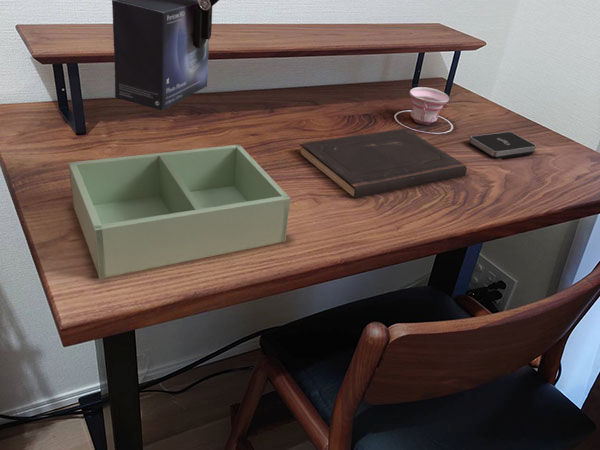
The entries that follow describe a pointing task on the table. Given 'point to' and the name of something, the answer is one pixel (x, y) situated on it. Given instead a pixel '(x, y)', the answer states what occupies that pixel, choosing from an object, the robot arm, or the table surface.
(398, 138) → the hardcover book
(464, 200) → the table surface
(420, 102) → the teacup
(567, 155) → the table surface
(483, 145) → the external hard drive
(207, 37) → the robot arm
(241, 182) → the caddy
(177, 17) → the small box
